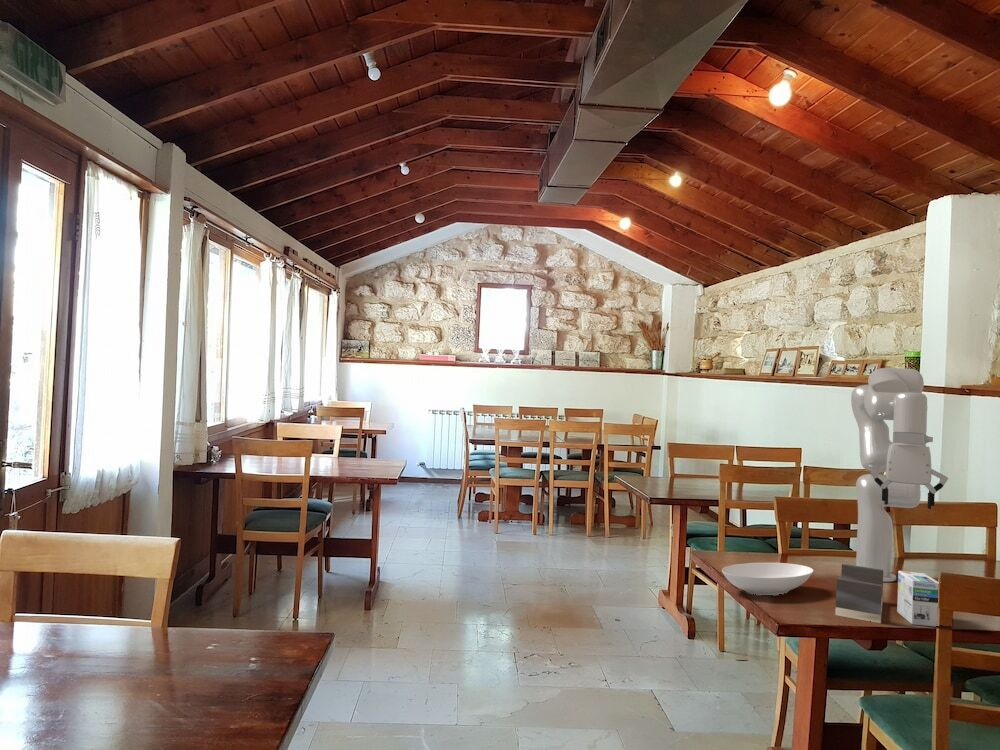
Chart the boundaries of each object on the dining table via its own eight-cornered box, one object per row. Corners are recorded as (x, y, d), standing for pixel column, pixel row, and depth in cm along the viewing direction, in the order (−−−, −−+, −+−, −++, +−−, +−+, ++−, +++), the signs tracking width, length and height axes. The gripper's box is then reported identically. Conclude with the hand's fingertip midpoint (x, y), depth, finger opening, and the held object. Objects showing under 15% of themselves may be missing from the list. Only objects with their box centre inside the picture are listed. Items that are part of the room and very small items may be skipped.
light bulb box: (941, 628, 169) (943, 583, 169) (911, 625, 170) (912, 580, 171) (924, 614, 179) (925, 572, 180) (895, 611, 181) (897, 569, 181)
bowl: (745, 604, 181) (746, 580, 181) (705, 588, 194) (706, 566, 195) (828, 595, 193) (829, 573, 193) (786, 581, 207) (787, 560, 207)
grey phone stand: (840, 596, 193) (842, 563, 193) (882, 603, 188) (883, 569, 188) (835, 615, 175) (836, 579, 175) (880, 623, 170) (882, 586, 170)
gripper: (948, 442, 181) (946, 509, 180) (872, 437, 190) (870, 501, 189) (949, 442, 174) (947, 511, 173) (871, 437, 183) (869, 503, 182)
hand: (907, 506), depth 181 cm, fingers open, 9 cm apart
